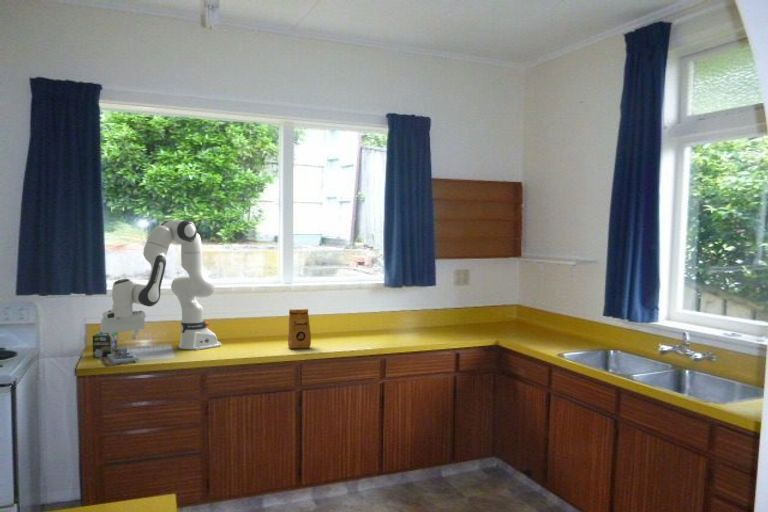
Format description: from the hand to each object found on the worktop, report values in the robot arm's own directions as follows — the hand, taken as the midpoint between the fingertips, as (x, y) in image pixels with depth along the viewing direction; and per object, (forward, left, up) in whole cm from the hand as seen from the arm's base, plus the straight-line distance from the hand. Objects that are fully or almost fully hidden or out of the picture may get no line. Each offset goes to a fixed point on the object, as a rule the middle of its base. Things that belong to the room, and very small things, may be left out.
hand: (123, 340), depth 269 cm
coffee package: (-87, +20, -11) cm, 90 cm away
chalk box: (+5, -16, -11) cm, 20 cm away
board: (+3, 0, -10) cm, 11 cm away
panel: (+1, 0, -9) cm, 9 cm away
